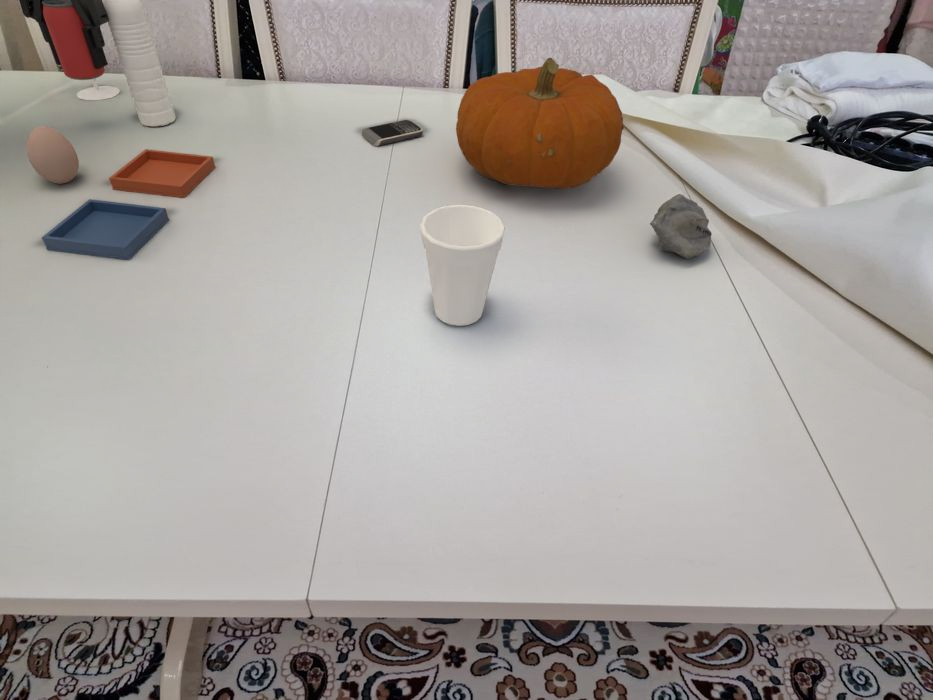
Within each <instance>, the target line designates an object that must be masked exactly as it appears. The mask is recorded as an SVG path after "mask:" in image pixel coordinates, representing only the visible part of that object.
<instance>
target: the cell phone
mask: <svg viewBox="0 0 933 700" xmlns="http://www.w3.org/2000/svg"><path fill="white" fill-rule="evenodd" d="M423 133H424V129H423V128H422V127H421V126H420V125H418V124H417V123H415V122H414V121H412V120H409V119H403V120H398V121H393V122H389V123H384V124H379V125H374V126H370V127H365V128H363V129H362V130H361V136H362V137H363V138H364V139H365V140H367V141H368V142H369V143H371V144H372V145H374V146H376V147H379V146H384V145H388V144H392V143H397V142H401V141H406V140H411V139H415V138H418V137H421V136H423V135H422V134H423Z"/></svg>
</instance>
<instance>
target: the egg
mask: <svg viewBox="0 0 933 700" xmlns="http://www.w3.org/2000/svg"><path fill="white" fill-rule="evenodd" d="M75 149H76V148H75V147H74V145H73V144H72V142H70V141H69V139H68V138H67V137H66V136H65V135H63V134H62V133H61V132H59V131H58V130H57V129H55V128H52V127H50V126H45V125H43V126H37V127H36V128H34V129H32V130H31V131H30V133H29V135H28V137H27V140H26V154H27V159H28V160H29V163H30V165H31V167H32V168H33V170H34V171H35V172H36V174H38V175H39V176H40V177H42V178H43V179H45V180H47V181H48V182H50V183H54V184H60V185H61V184H67V183H70V182H71V181H72V180H74V179H75V177H76V175H77V173H78V171H79V167H80V162H79V161H80V160H79V156H78V153H77V152H76V150H75Z"/></svg>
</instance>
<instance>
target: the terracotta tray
mask: <svg viewBox="0 0 933 700" xmlns="http://www.w3.org/2000/svg"><path fill="white" fill-rule="evenodd" d="M215 168H216V166H215V161H214V157H213V156H212V155H211V156H209V155H201V154H193V153H184V152H176V151H175V152H174V151H165V150H158V149H157V150H155V149H148V148H147V149H144V150H143V151H142V152H140V153H139V154H138V155H137V156H135V157H134V158H132V159H131V160H130V161H129V162H127V163H126V164H125V165H124V166H122V167H121V168H120V169H119V170H117V171H116V172H115V173H114V174H112V175H111V176H110V177H108V179H109V182H110V185H111V187H112V190H115V191H123V192H124V191H125V192H132V193H140V194H149V195H150V194H151V195H157V196H167V197H173V198H174V197H176V198H184V199H185V198H186V197H187V196H188V195H189V194H190V193H191V192H192V191H193V190H194V189H195V188H196V187H197V186H198V185H199V184H200V183H201V182H202V181H203V180H204V179H205V178H206V177H207V176H208V175H210V173H211V172H212V171H213V170H214V169H215Z"/></svg>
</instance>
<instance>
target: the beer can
mask: <svg viewBox="0 0 933 700" xmlns="http://www.w3.org/2000/svg"><path fill="white" fill-rule="evenodd" d="M42 3H43V15H44V19H45V21H46V24H47V27H48V30H49V33H50V35H51V38H52V41H53V44H54V46H55V49H56V52H57V55H58V58H59V60H60V63H61V65H60V66H61V69H62V71H63V74H64V76H66V77H67V78H69V79H71V80H76V81H88V80H91V79H94V78H95V79H97V78H100V77H101V76H103V75H104V74H105V71H106V68H105V66H104V67H102V68H100V69H95V67H94V64H93V61H92V58H91V55H90V51H89V48H88V45H87V42H86V39H85V36H84V33H83V30H82V29H83V27H84V26H86V25H85V24H84V22H83V20H82V19H81V17H80V15H79V14H78V12H77V10H76V9H75V7H74V5H73V4H72V2H71V0H43V1H42Z"/></svg>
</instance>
